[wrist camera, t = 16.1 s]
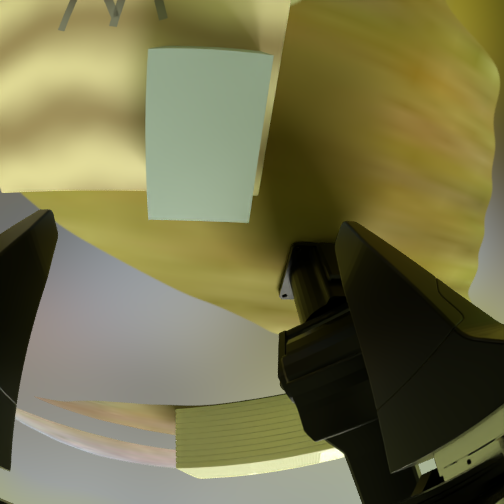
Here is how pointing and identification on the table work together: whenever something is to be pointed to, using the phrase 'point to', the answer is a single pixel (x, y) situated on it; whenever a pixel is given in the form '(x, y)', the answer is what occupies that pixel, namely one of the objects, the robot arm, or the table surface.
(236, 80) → the block
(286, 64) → the table surface
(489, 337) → the robot arm
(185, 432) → the stack of papers
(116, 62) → the maple board
